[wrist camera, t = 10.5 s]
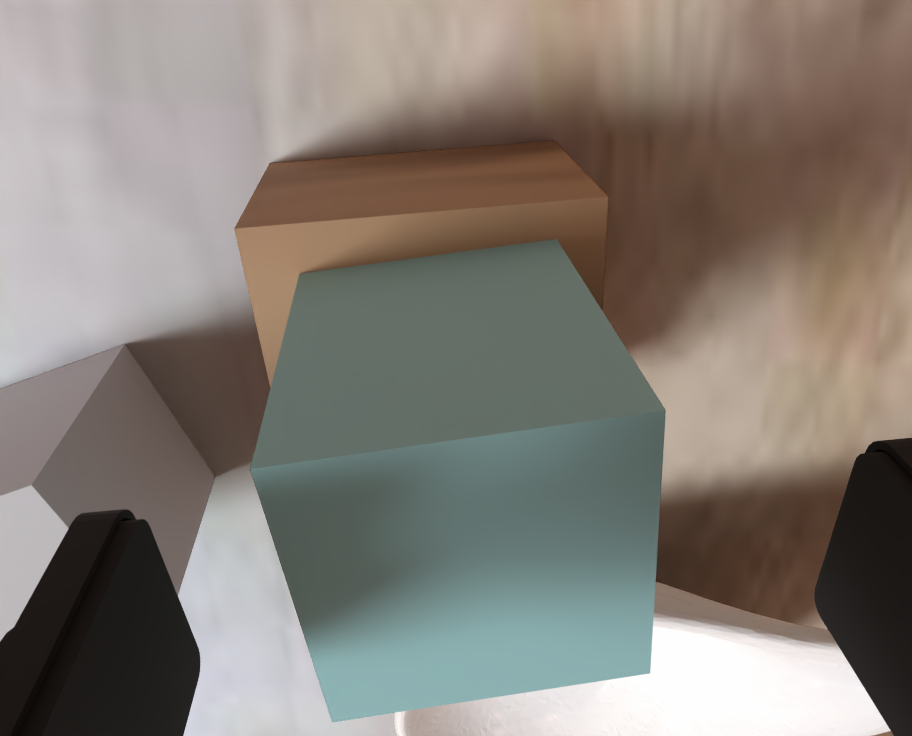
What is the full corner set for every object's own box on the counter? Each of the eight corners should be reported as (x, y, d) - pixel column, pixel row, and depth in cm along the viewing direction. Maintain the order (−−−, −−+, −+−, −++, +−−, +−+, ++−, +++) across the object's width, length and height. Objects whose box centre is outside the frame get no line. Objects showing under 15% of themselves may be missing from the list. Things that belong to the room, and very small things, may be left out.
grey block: (-37, 401, 20) (-187, 560, 14) (125, 343, 19) (31, 485, 14) (70, 525, 22) (-25, 698, 17) (215, 476, 22) (164, 638, 16)
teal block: (299, 273, 13) (250, 468, 8) (556, 238, 14) (665, 409, 8) (347, 475, 16) (332, 722, 11) (563, 444, 16) (650, 673, 11)
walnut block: (270, 161, 17) (234, 228, 13) (552, 139, 18) (608, 196, 13) (315, 400, 21) (299, 516, 16) (549, 377, 21) (593, 484, 17)
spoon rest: (494, 758, 31) (522, 957, 25) (329, 614, 25) (313, 823, 19) (1033, 508, 26) (1236, 678, 20) (974, 265, 21) (1227, 395, 15)
